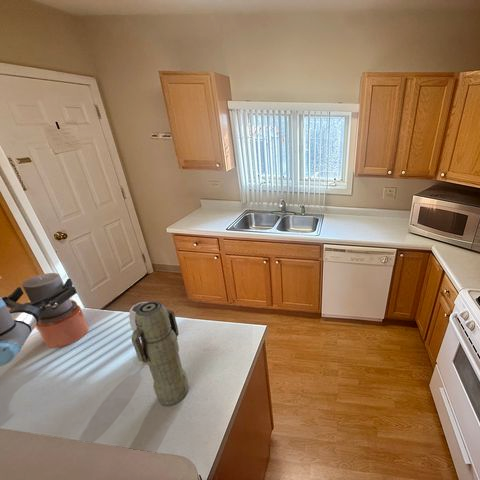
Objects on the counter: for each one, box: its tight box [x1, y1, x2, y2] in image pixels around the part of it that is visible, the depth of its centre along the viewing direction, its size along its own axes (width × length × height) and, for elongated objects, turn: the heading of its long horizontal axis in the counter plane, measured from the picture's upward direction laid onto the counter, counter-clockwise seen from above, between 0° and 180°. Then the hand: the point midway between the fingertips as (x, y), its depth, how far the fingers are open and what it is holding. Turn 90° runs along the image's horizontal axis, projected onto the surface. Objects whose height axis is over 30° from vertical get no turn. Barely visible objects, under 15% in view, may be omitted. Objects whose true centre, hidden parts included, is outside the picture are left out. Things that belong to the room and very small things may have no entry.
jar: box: [35, 299, 90, 349], centre depth 100 cm, size 13×13×13 cm
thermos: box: [131, 300, 190, 407], centre depth 75 cm, size 9×12×35 cm
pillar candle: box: [21, 272, 72, 318], centre depth 94 cm, size 10×10×15 cm
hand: (46, 285), depth 94 cm, fingers open, 13 cm apart
